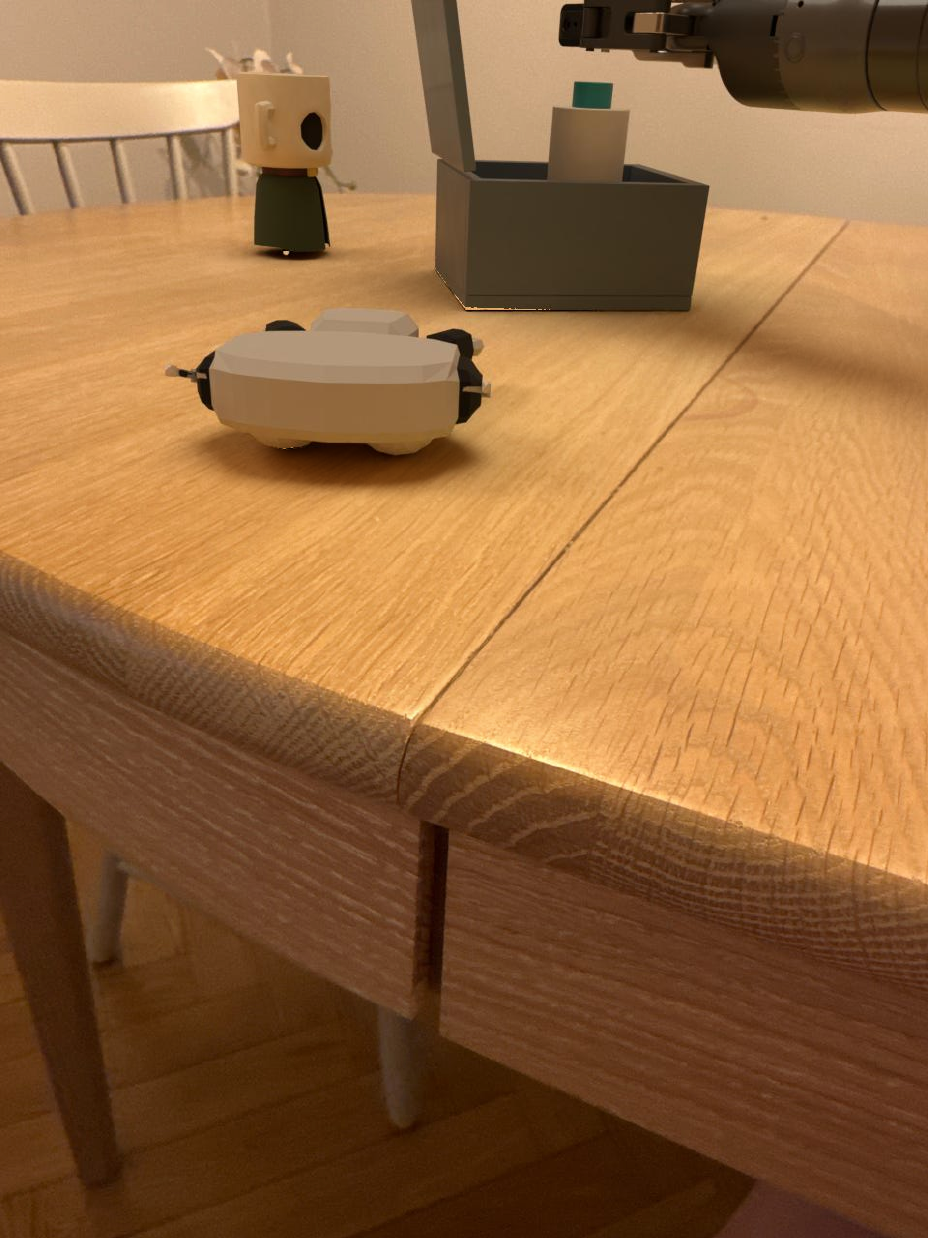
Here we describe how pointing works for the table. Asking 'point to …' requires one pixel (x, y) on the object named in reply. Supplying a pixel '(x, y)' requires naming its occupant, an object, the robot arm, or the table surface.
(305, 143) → the beige and green figure
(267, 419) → the robot toy
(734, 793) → the table surface
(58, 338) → the table surface
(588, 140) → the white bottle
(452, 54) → the lid
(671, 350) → the table surface
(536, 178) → the dark grey open box
